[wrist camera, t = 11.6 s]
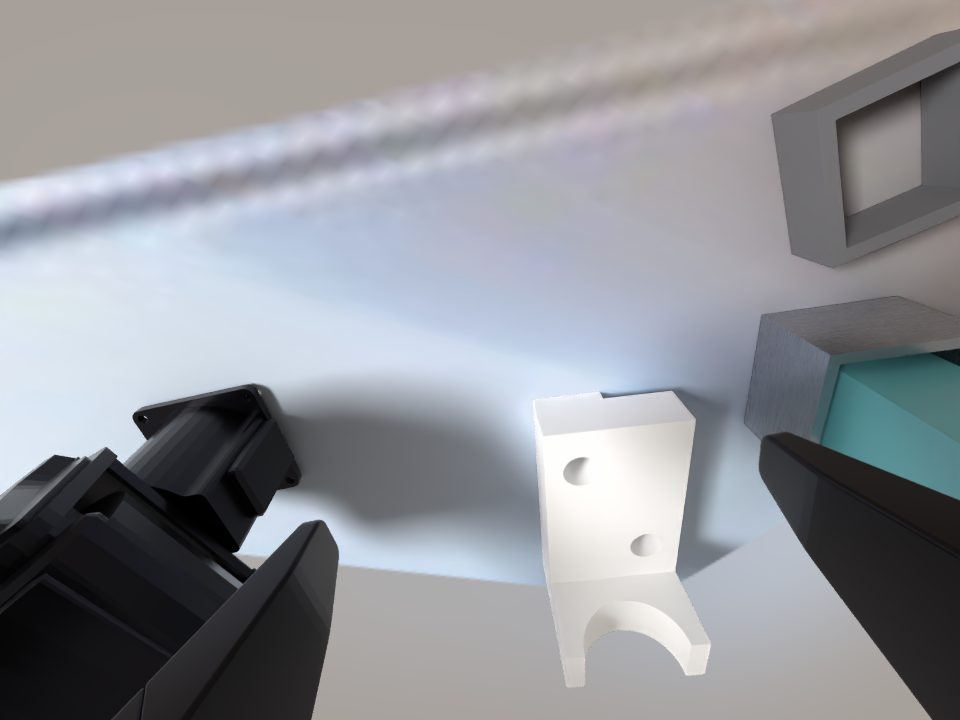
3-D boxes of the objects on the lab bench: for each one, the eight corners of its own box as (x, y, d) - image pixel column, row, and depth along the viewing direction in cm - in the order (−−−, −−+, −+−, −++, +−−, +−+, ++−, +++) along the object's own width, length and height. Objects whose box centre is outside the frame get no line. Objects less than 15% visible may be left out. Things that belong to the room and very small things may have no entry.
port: (744, 423, 24) (799, 479, 20) (761, 315, 22) (830, 355, 17) (863, 407, 24) (942, 461, 20) (897, 295, 21) (997, 332, 17)
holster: (791, 253, 20) (832, 268, 18) (771, 114, 18) (815, 110, 15) (936, 192, 19) (998, 198, 17) (937, 34, 17) (1011, 17, 14)
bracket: (648, 550, 29) (704, 674, 22) (542, 561, 29) (566, 687, 23) (664, 381, 23) (746, 479, 17) (531, 396, 24) (560, 499, 17)
